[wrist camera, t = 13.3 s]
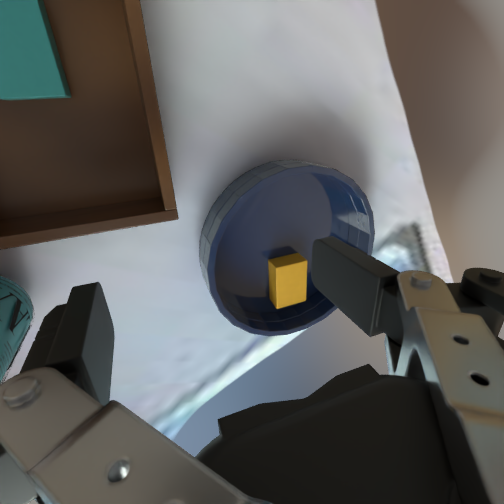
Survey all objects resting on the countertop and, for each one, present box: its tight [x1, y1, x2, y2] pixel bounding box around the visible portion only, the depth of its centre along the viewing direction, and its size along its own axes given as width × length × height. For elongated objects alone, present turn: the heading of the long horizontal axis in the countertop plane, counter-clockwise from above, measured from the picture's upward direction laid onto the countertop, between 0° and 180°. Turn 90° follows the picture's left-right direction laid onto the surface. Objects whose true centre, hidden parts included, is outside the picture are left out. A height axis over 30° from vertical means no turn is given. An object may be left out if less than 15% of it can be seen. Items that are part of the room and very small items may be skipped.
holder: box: [0, 0, 178, 250], centre depth 17 cm, size 16×14×5 cm
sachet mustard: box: [268, 253, 307, 309], centre depth 31 cm, size 5×4×2 cm
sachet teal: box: [0, 0, 71, 100], centre depth 17 cm, size 5×4×2 cm
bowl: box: [199, 160, 375, 336], centre depth 29 cm, size 17×17×4 cm
